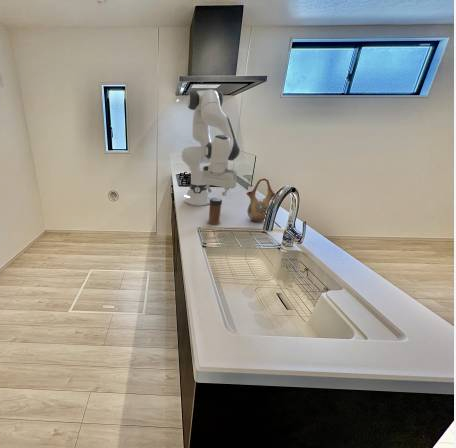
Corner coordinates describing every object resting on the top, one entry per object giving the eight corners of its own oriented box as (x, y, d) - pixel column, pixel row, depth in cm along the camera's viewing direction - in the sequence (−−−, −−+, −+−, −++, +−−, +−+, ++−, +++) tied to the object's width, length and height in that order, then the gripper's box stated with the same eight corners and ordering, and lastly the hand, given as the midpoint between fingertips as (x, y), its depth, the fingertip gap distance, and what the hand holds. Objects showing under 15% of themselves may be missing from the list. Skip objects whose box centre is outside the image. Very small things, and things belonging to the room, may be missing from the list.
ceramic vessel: (268, 218, 143) (275, 176, 134) (274, 223, 135) (282, 180, 126) (240, 217, 144) (246, 176, 135) (244, 223, 136) (251, 179, 126)
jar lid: (210, 201, 137) (210, 197, 136) (221, 202, 135) (222, 198, 134) (209, 205, 131) (209, 200, 130) (221, 206, 129) (221, 201, 128)
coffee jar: (208, 220, 141) (210, 198, 136) (219, 221, 139) (221, 199, 134) (207, 224, 135) (209, 201, 130) (219, 225, 134) (221, 202, 128)
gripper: (240, 169, 120) (236, 196, 125) (206, 165, 134) (204, 189, 139) (233, 171, 116) (230, 198, 121) (199, 166, 130) (198, 191, 135)
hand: (216, 193), depth 130 cm, fingers open, 8 cm apart
